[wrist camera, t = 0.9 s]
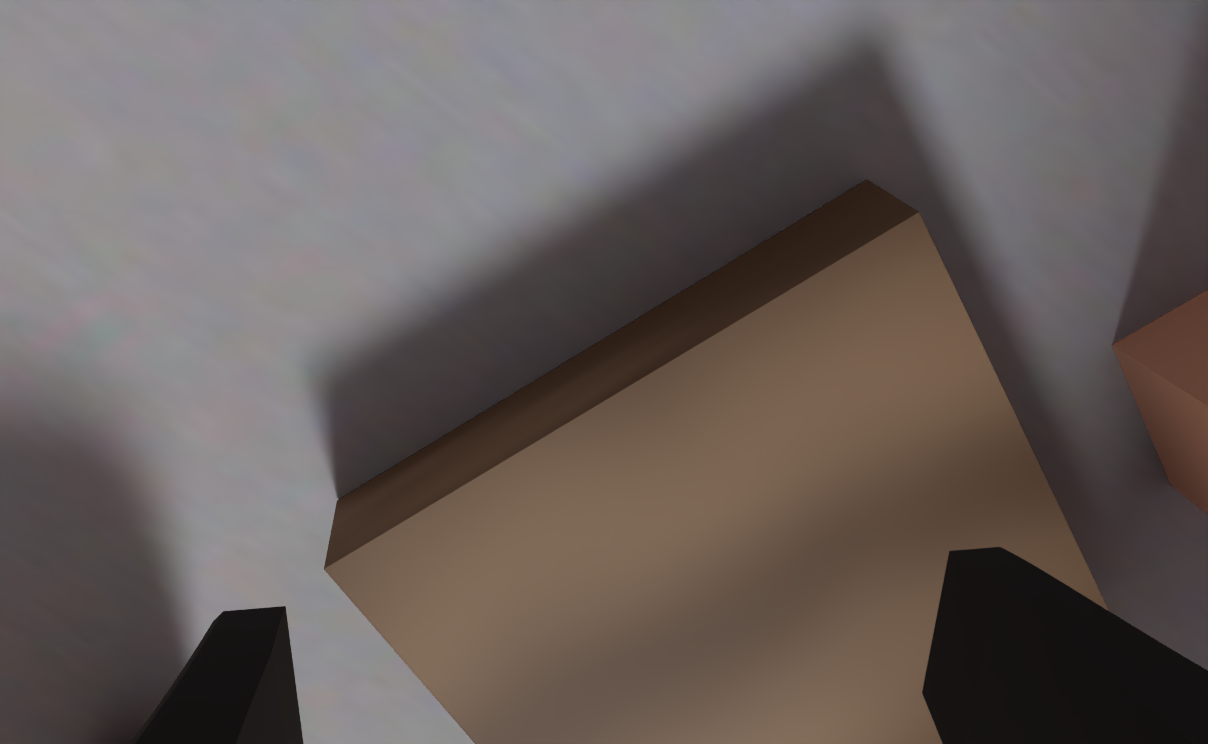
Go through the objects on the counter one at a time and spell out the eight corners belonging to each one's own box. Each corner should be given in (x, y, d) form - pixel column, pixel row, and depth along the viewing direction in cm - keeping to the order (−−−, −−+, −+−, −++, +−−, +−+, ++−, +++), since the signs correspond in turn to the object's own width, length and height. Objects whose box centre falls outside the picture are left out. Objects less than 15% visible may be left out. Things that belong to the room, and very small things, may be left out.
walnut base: (1081, 615, 25) (1144, 684, 23) (636, 861, 26) (654, 950, 24) (867, 179, 21) (919, 212, 18) (337, 500, 22) (324, 569, 19)
